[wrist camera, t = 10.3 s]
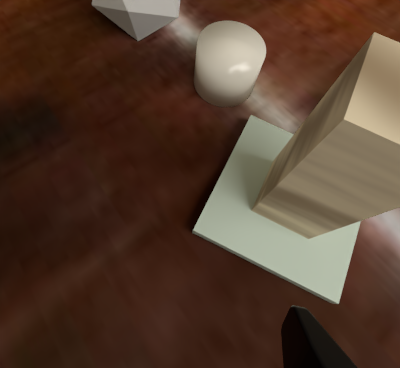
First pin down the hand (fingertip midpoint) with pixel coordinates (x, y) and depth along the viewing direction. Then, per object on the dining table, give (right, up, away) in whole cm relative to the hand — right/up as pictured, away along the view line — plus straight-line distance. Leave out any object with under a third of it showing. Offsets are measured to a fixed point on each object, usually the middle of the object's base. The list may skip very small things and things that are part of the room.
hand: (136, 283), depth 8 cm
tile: (+9, +1, +16) cm, 18 cm away
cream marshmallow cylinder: (+4, +13, +20) cm, 24 cm away
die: (-4, +20, +22) cm, 30 cm away
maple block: (+9, +2, +15) cm, 18 cm away
